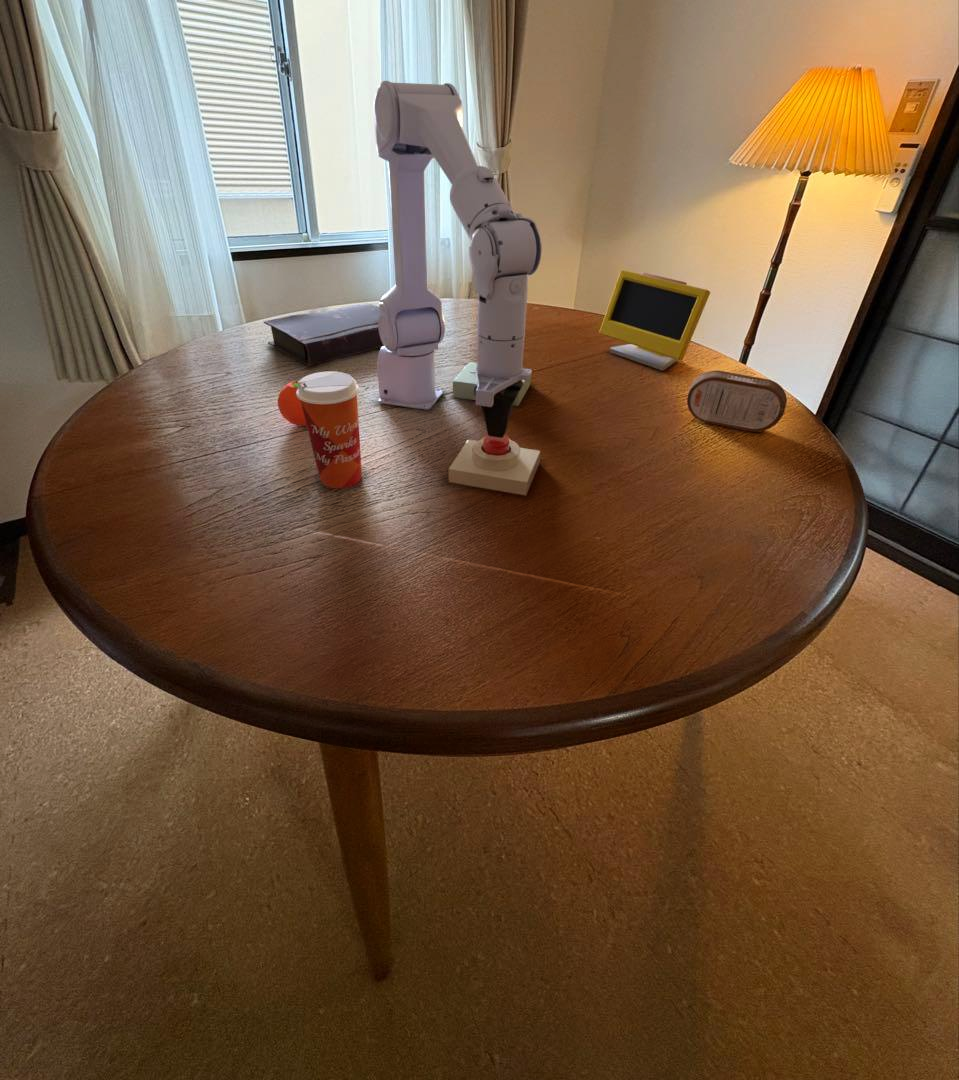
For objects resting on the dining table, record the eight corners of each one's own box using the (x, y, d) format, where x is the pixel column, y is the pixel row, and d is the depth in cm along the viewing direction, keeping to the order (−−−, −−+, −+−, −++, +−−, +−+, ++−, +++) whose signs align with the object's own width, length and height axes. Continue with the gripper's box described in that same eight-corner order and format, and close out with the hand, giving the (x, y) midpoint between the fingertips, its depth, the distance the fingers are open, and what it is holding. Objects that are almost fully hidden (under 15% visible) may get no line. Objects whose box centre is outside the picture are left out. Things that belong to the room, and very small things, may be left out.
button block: (448, 482, 78) (448, 457, 75) (467, 452, 84) (467, 428, 82) (525, 495, 75) (528, 470, 73) (539, 463, 82) (541, 439, 80)
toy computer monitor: (596, 349, 122) (607, 270, 112) (618, 341, 126) (632, 265, 116) (674, 376, 110) (695, 291, 100) (697, 367, 114) (718, 285, 105)
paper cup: (321, 498, 74) (302, 398, 65) (306, 471, 79) (288, 375, 71) (377, 484, 77) (367, 386, 68) (360, 459, 82) (348, 365, 74)
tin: (776, 430, 92) (794, 381, 87) (775, 438, 90) (794, 388, 85) (682, 412, 97) (695, 364, 92) (679, 419, 95) (692, 371, 90)
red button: (480, 454, 77) (480, 443, 76) (487, 442, 79) (487, 431, 78) (505, 458, 76) (506, 447, 75) (511, 446, 79) (512, 435, 78)
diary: (412, 342, 123) (411, 318, 120) (310, 369, 109) (306, 343, 106) (364, 322, 134) (362, 299, 131) (266, 344, 120) (261, 320, 117)
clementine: (338, 425, 91) (332, 383, 86) (301, 440, 86) (293, 396, 82) (310, 410, 95) (303, 369, 90) (273, 423, 91) (264, 381, 86)
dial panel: (452, 397, 100) (452, 380, 98) (469, 376, 108) (469, 360, 106) (518, 406, 98) (519, 388, 96) (530, 384, 105) (531, 368, 104)
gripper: (519, 357, 62) (512, 465, 70) (545, 319, 73) (536, 416, 81) (458, 350, 63) (458, 456, 71) (492, 314, 74) (489, 409, 82)
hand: (496, 434), depth 76 cm, fingers closed
